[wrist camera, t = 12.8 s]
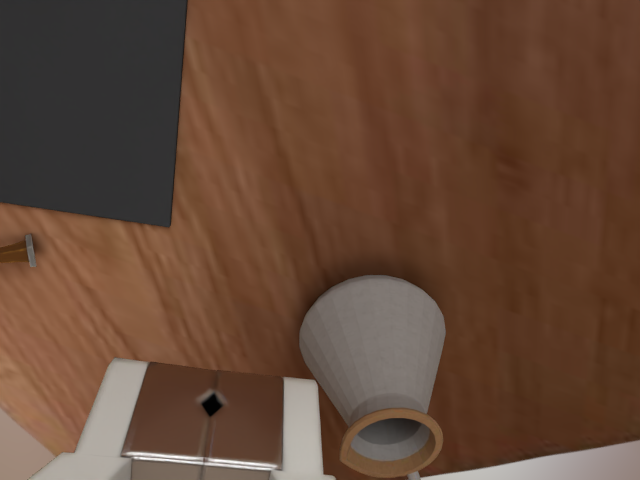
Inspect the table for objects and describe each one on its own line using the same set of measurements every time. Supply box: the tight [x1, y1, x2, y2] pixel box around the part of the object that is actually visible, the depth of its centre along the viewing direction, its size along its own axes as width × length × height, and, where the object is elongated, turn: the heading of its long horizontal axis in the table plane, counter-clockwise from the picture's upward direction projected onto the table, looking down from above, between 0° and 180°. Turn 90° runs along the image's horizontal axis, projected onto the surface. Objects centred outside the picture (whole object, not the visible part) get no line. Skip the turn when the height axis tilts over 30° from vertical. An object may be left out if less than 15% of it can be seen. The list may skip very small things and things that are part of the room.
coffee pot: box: [299, 275, 446, 480], centre depth 41 cm, size 21×12×15 cm, turn 20°
